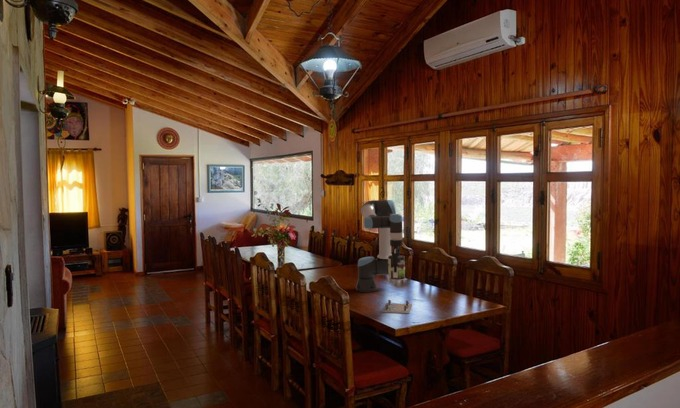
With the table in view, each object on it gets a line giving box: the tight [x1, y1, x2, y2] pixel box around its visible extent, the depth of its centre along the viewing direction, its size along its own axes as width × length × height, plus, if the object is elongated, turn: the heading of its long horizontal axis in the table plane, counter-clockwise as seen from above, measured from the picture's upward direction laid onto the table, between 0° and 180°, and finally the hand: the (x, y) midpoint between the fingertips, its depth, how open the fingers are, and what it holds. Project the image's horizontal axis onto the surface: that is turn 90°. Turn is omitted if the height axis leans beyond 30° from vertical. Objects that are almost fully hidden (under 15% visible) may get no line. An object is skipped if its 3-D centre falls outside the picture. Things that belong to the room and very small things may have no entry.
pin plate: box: [381, 299, 413, 314], centre depth 304 cm, size 16×16×4 cm
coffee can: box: [387, 254, 406, 282], centre depth 303 cm, size 10×10×14 cm
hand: (396, 275), depth 303 cm, fingers closed on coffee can, 10 cm apart
